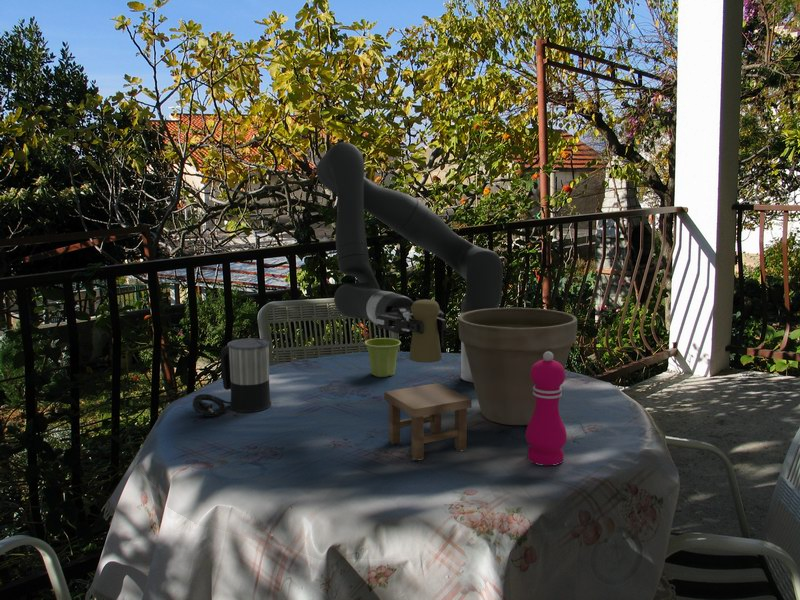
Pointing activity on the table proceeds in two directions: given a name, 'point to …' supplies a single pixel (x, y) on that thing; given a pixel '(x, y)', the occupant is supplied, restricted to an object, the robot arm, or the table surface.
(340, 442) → the table surface
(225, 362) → the milk frother
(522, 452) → the table surface
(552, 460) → the pepper mill
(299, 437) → the table surface
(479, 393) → the plant pot
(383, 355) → the plant pot
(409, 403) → the footstool
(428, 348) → the cork
